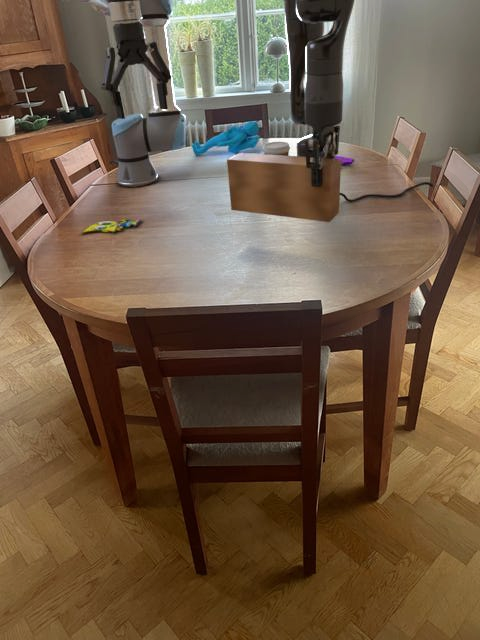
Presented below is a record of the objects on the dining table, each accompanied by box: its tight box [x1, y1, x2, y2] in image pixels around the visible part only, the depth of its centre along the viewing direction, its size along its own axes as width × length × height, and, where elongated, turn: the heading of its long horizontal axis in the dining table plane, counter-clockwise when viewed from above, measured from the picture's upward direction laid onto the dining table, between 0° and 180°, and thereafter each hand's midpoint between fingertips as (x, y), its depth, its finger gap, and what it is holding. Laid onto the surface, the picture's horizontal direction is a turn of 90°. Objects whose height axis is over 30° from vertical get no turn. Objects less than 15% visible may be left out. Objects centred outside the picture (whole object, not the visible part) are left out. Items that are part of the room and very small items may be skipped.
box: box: [226, 152, 342, 223], centre depth 110 cm, size 25×6×12 cm, turn 61°
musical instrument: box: [335, 155, 355, 166], centre depth 185 cm, size 24×2×20 cm
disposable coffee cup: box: [262, 141, 291, 156], centre depth 169 cm, size 10×10×12 cm
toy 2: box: [191, 120, 261, 156], centre depth 207 cm, size 17×11×30 cm
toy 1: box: [82, 218, 141, 235], centre depth 145 cm, size 10×1×15 cm
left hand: (143, 113), depth 131 cm, fingers open, 13 cm apart
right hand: (322, 181), depth 105 cm, fingers closed on box, 6 cm apart
